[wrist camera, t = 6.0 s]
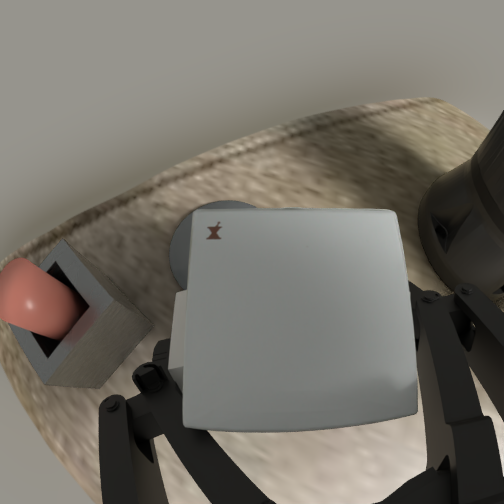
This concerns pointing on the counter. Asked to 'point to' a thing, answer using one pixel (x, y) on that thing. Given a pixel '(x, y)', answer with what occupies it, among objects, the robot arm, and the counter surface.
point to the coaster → (182, 240)
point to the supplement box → (297, 320)
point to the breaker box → (85, 327)
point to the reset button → (38, 300)
